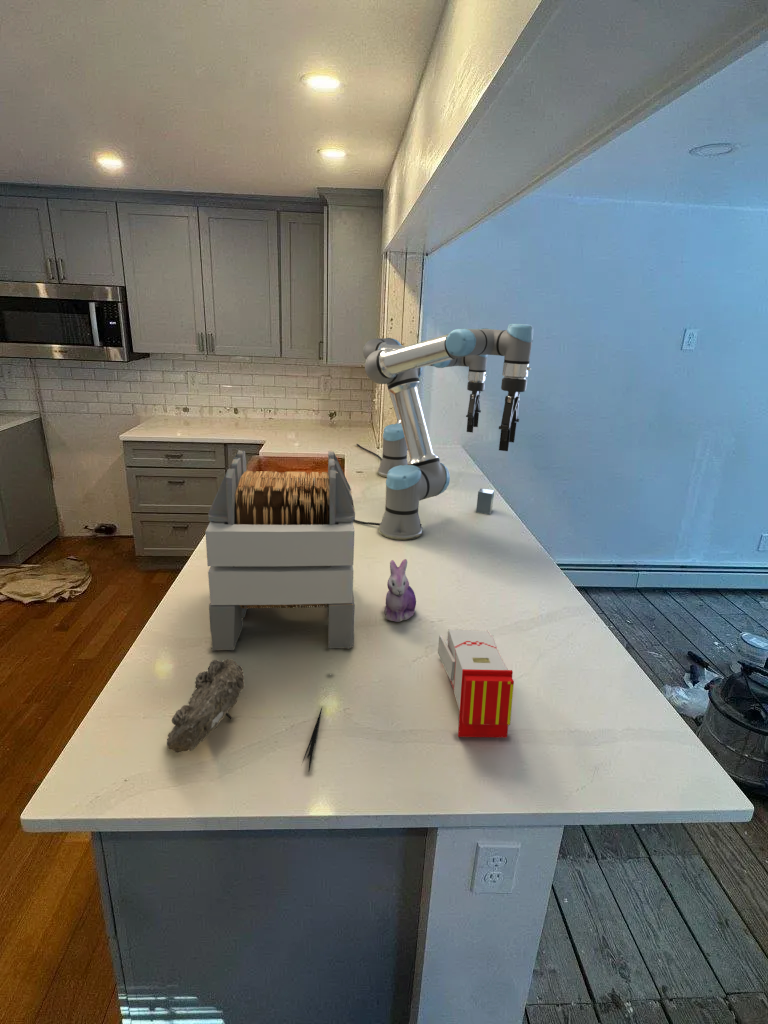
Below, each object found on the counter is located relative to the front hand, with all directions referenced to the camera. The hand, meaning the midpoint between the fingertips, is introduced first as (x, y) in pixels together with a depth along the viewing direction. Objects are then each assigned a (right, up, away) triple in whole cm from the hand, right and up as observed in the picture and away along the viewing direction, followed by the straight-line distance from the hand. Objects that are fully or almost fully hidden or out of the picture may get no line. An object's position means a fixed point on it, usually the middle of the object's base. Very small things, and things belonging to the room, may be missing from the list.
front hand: (506, 446), depth 179 cm
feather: (-51, -61, -71) cm, 106 cm away
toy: (-21, -58, -61) cm, 87 cm away
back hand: (+1, +16, +77) cm, 78 cm away
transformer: (-64, -47, -34) cm, 86 cm away
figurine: (-35, -47, -32) cm, 67 cm away
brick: (+1, -21, +47) cm, 51 cm away
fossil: (-72, -60, -71) cm, 117 cm away
